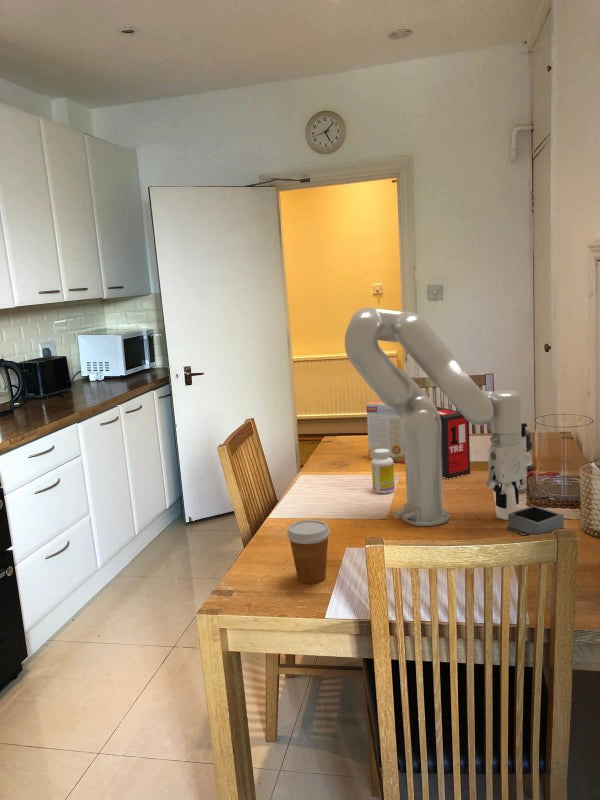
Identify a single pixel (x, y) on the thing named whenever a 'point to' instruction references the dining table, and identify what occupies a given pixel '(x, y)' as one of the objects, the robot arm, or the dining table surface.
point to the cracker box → (385, 431)
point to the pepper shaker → (508, 502)
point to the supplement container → (529, 450)
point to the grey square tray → (535, 521)
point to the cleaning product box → (454, 443)
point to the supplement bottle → (382, 472)
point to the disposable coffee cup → (309, 549)
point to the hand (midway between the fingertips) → (507, 504)
